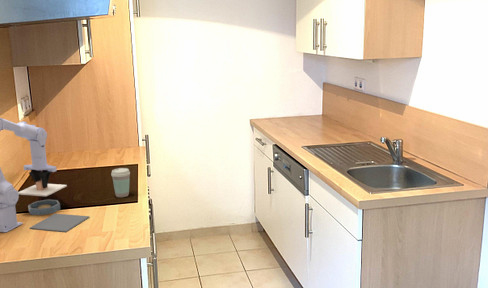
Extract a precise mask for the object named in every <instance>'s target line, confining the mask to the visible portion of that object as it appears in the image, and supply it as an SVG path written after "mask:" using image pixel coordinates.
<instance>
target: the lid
mask: <svg viewBox="0 0 488 288" xmlns="http://www.w3.org/2000/svg"><path fill="white" fill-rule="evenodd" d="M66 187H68V185H67V184H60V183H59V184H57V183H48V186H47V187H46V188H43V186H42V180H39V181H37V182H36V184H34V185H31V186H29V187H27V188H24V189H23V190H20V191H18V194H19V195H21V196H34V197H35V196H36V197H48V196H50V195H52V194H54V193H56V192H58V191H60V190H62V189H64V188H66Z"/></svg>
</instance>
